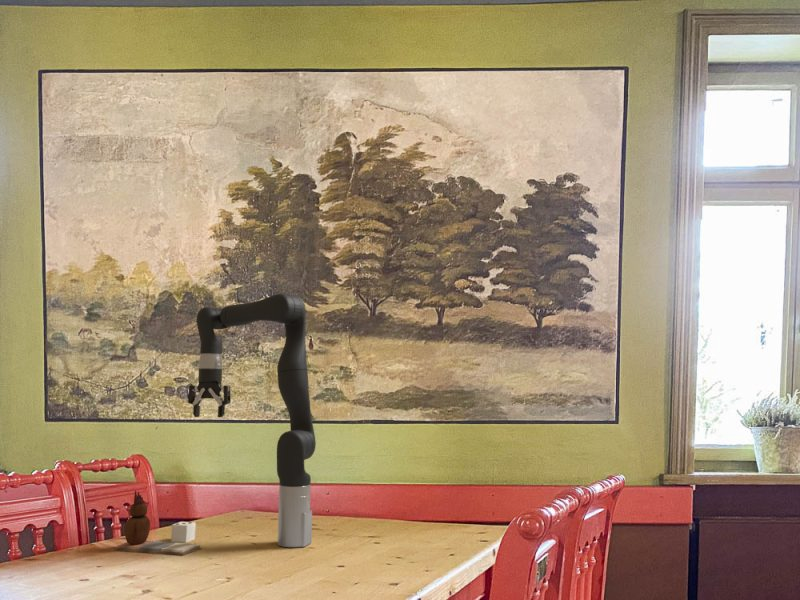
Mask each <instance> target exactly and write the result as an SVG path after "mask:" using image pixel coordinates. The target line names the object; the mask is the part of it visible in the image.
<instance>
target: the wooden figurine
mask: <svg viewBox="0 0 800 600" xmlns="http://www.w3.org/2000/svg"><path fill="white" fill-rule="evenodd" d="M128 511H129V512H128V514H129V515H130V517H129V518H128V519H126V522H125V524H124V538H125V540H126V542H128V543H129V544H132V545H137V544H142V543H144V542H145V541H148V540H147V539H148V537H149V535H150V530H151V521H150V518H149V517H148V516H147V513H148V505H147V504H146V503H144V497H143V496H142V495H141V494H140V491H138V492H137V491H136V490H135V491H134V498H133V504H131V505H130V506H129V510H128Z"/></svg>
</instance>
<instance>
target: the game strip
mask: <svg viewBox="0 0 800 600" xmlns="http://www.w3.org/2000/svg"><path fill="white" fill-rule="evenodd" d="M199 549H201V545H198V544H197V543H190V542H187V543H181V542H171V541H170V542H168V541H160V540H159V541H157V540H156V541H154V540H146V541H145V542H144V543H142V544H137V545H132V544H129V543H128V542H127V541H126V542H124V543H120V544H118V545H117V546H116V547H114V548H113V551H115V552H129V553H130V552H131V553H142V554H144V553H145V554H156V555H157V554H158V555H170V556H171V555H173V556H182V557H183V556H185V555H188V554H191V553H192V552H195V551H197V550H199Z"/></svg>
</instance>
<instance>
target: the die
mask: <svg viewBox="0 0 800 600" xmlns="http://www.w3.org/2000/svg"><path fill="white" fill-rule="evenodd" d="M194 540H196V522H194V521H193V522H191V521H178V522H176V523H172V524H171V537H170V542H174V543H190V542H192V541H194Z"/></svg>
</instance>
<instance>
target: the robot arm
mask: <svg viewBox="0 0 800 600" xmlns="http://www.w3.org/2000/svg"><path fill="white" fill-rule="evenodd" d="M306 313H307V312H306V305H305V302H304V300H303V298H301V297H300V296H299V295H294V294H289V293H276V294H273V295H271V296H268V297H265V298H262V299H259V300H256V301H252V302H244V303H237V304H231V305H226V306H224V307H223V308H215V307H209V306H205V307H202V308H200V310H198V313H197V315H196V327H197V333H198V336H199V340H200V350H199V351H200V352H199V359H198V374H197V375H198V384H197V385H193V384H191V385H189V388H188V397H187V403H188V404H190V405H192V410H193V411H192V414H193V417H194V418H199V417H200V415H201V414H200V413H201V405H200V404H201V402H203V401H204V400H205V399H211V400H213V399H214V401H216V403H217V404H218V407H217V418H223V417H224V416H225V413H226V412H225V407H226V405H229V404H231V402H232V400H231V396H232V395H231V386H230V385H222V382H223V339H222V337H220V336H218V335H216V334H215V330H225V329H229V328H231V327H238V326H239V327H240V326H246V325H249V324H252V323H254V322H258V321H268V322H276V323H277V324H278V323H279V324H284V328H285V341H284V345H283V349H282V350H281V353H280V356H279V359H278V362H277V368H276V369H277V370H276V371H277V385H278V390H279V393H280V396H281V398H282V400H283V402H284V404H285V406H286V409H287V412H288V415H289V422H290V423H289V424H290V425H289V426H290V430H288V431H285V432H283V433H282V434H281V435H279V436H280V437H279V438H278V441H277V445H276V475H277V476H278V481H279V486H278V488H279V489H278V490H279V491H278V495H279V496H278V515H277V516H278V520H277V521H278V522H277V523H278V524H277V546H279V547H284V548H305V547H307V546H308V545H309V544H311V543H312V539H313V538H312V536H313V535H312V534H313V533H312V532H313V510H312V509H311V475H310V473H308V472H306V470H305V461H306V460H308V459H310V458H311V457H312V456H313V454H314V453H315V451H316V445H317V444H316V442H317V441H316V435H315V429H314V423H313V420H312V413H311V411H312V410H311V401H310V400H311V399H310V387H309V373H308V371H309V370H308V363H307V361H308V360H307V347H306V322H307V321H306V320H307V319H306V318H307V317H306V316H307V315H306ZM197 391H198V394H197V395H196V393H197ZM221 391H222V392H221ZM221 393H223V396H222V394H221Z"/></svg>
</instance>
